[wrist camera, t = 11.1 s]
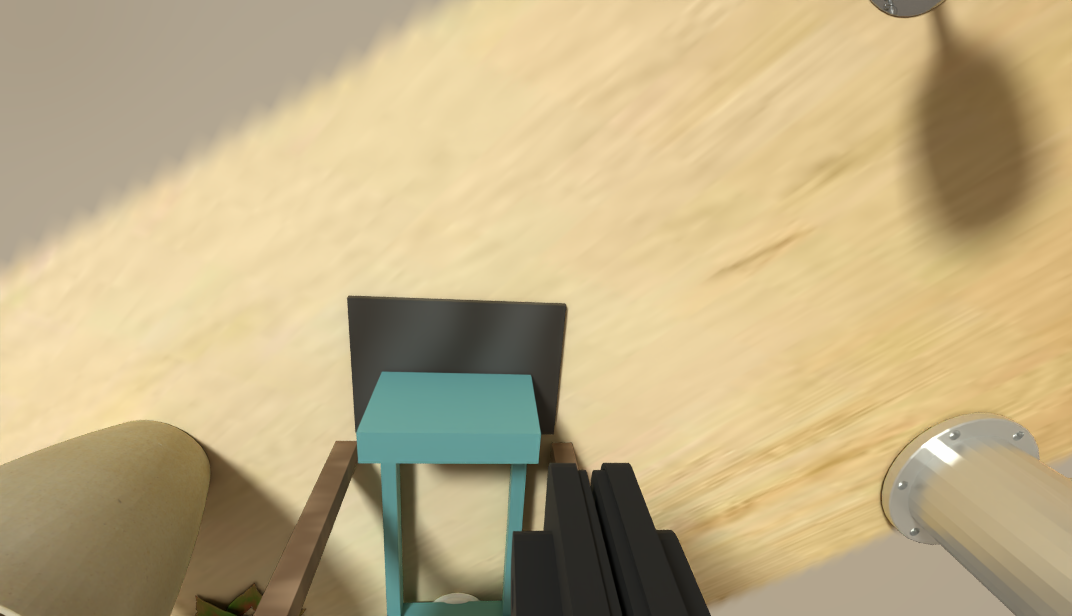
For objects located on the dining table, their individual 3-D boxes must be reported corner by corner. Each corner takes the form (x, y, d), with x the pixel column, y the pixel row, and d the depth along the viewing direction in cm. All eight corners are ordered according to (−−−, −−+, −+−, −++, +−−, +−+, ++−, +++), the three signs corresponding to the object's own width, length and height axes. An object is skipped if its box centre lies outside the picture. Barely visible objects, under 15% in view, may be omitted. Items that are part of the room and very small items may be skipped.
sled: (531, 374, 35) (541, 434, 28) (508, 682, 45) (511, 776, 39) (381, 371, 34) (356, 432, 27) (394, 687, 44) (377, 785, 38)
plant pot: (183, 335, 32) (-76, 519, 17) (304, 504, 38) (184, 755, 23) (-21, 417, 33) (-437, 662, 18) (126, 572, 38) (-103, 858, 24)
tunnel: (587, 304, 34) (660, 441, 20) (558, 565, 42) (594, 800, 27) (324, 294, 32) (190, 438, 18) (345, 569, 40) (265, 823, 26)
